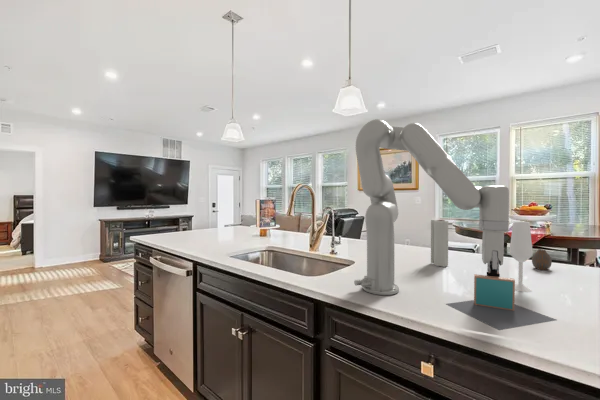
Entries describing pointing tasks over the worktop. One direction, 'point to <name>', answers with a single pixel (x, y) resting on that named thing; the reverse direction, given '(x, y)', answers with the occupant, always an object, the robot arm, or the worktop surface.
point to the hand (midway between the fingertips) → (492, 285)
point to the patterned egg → (541, 260)
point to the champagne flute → (521, 249)
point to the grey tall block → (439, 242)
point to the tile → (494, 292)
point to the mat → (501, 315)
